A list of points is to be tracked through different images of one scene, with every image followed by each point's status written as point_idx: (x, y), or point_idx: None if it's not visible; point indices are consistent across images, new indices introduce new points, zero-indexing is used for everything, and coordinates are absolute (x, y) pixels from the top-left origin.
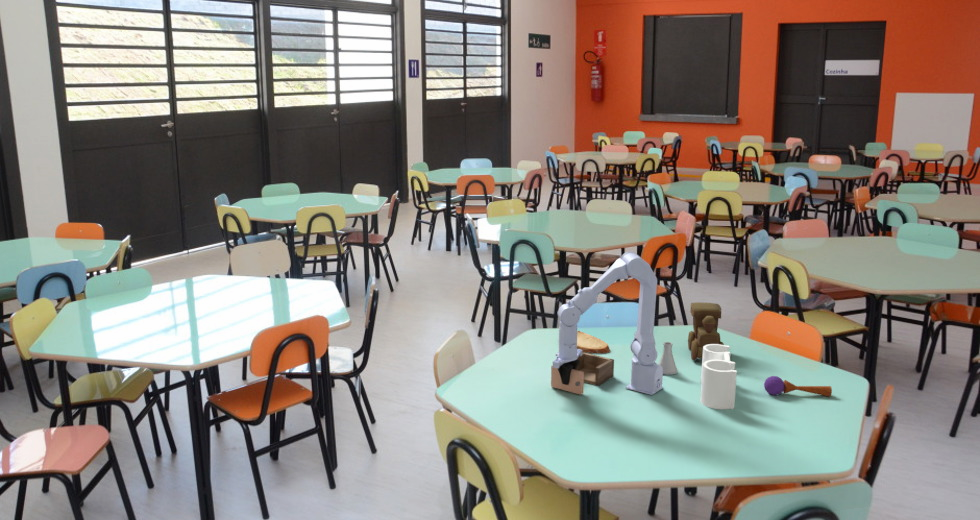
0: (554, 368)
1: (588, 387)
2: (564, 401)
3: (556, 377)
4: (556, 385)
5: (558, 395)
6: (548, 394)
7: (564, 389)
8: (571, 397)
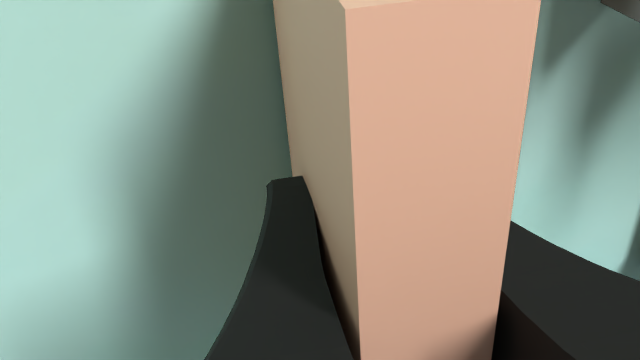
0: (340, 112)
1: (559, 233)
2: (37, 318)
3: (302, 73)
4: (279, 17)
5: (111, 168)
6: (6, 49)
7: (291, 144)
8: (194, 293)
